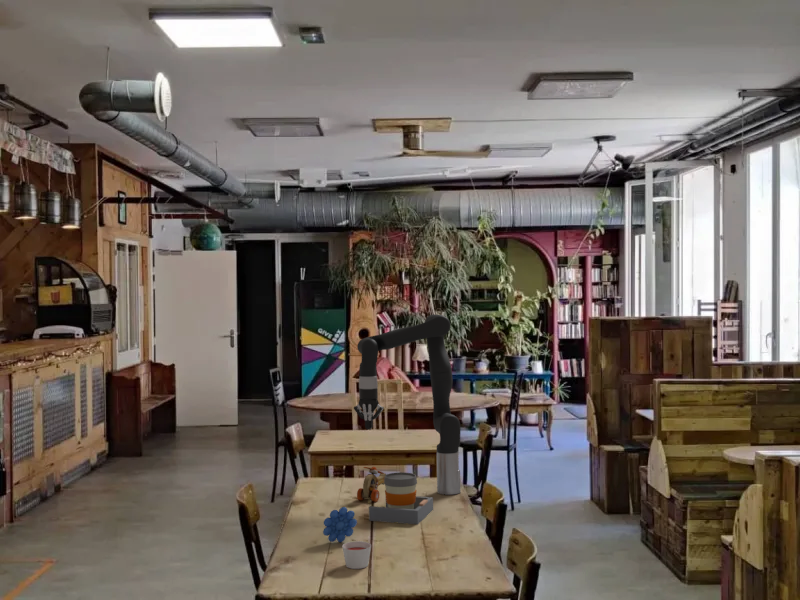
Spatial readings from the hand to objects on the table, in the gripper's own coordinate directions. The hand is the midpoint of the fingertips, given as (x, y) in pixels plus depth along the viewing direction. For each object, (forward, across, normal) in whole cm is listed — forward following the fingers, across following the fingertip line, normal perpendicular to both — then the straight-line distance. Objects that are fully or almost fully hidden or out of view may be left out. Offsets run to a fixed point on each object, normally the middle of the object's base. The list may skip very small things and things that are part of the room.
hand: (369, 429), depth 336 cm
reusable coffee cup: (+29, +19, -18) cm, 39 cm away
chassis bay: (+29, +20, -18) cm, 39 cm away
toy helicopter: (+29, 0, +5) cm, 30 cm away
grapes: (+29, +10, -54) cm, 63 cm away
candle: (+29, +24, -76) cm, 85 cm away
